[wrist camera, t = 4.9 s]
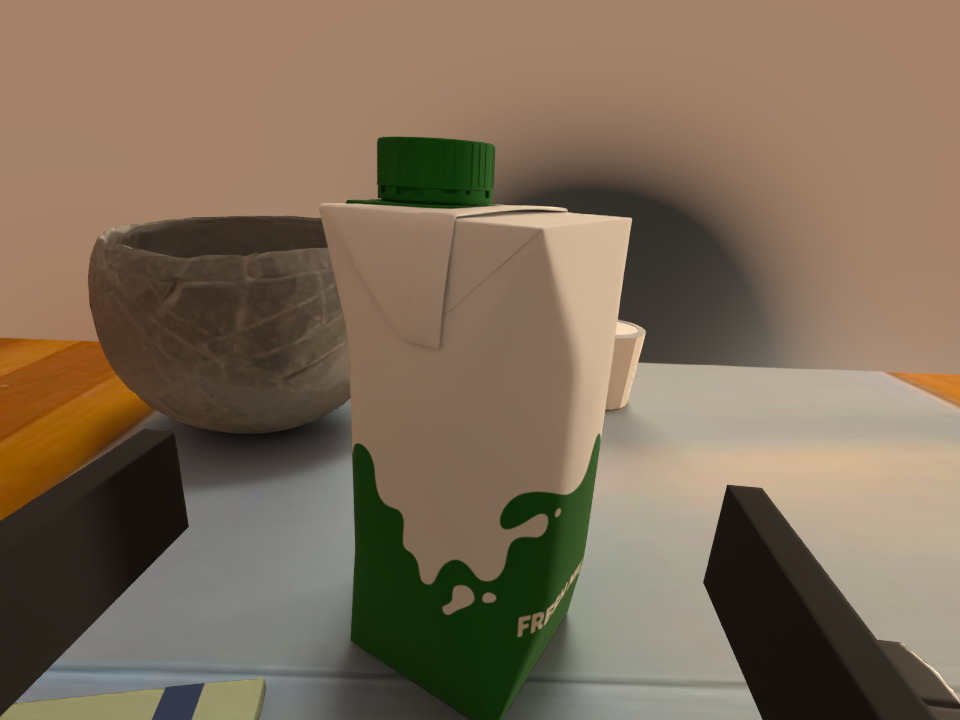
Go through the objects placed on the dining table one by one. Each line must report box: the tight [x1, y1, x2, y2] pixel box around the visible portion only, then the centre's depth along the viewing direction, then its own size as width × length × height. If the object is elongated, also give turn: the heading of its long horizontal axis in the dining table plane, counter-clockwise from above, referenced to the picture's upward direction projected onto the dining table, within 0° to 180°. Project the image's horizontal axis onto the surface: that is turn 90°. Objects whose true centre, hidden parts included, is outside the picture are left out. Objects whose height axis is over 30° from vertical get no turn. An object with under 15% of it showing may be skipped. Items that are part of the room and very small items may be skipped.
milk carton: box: [319, 137, 632, 720], centre depth 20 cm, size 9×9×20 cm
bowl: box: [88, 216, 350, 434], centre depth 40 cm, size 20×20×15 cm
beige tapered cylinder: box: [605, 320, 646, 410], centre depth 48 cm, size 7×7×7 cm
